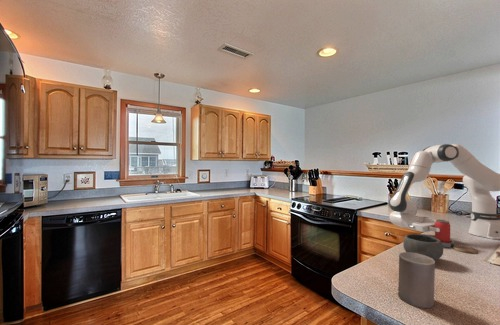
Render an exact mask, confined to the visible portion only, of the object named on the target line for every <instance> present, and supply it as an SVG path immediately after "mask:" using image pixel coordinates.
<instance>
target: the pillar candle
mask: <svg viewBox="0 0 500 325" xmlns="http://www.w3.org/2000/svg"><path fill="white" fill-rule="evenodd" d="M435 269H436V260H435V261H434V260H433V259H432V258H430V257H428V256H425V255H422V254H418V253H412V252H406V251H403V252H400V253H399V255H398V286H397V287H398V289H397V290H398V292H397V294H398V298H399V299H400V300H401V301H403V302H404V303H406V304H408V305H410V306H413V307H415V308H421V309H431V308H433V306H434V305H435V280H436V279H435V277H436V276H435V274H436V273H435V272H436V270H435Z"/></svg>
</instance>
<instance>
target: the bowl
mask: <svg viewBox="0 0 500 325" xmlns="http://www.w3.org/2000/svg"><path fill="white" fill-rule="evenodd" d="M433 237H434V236H431V235H430V236H429V235H426V234H420V233H419V234H416V233H415V234H414V233H411V234H406V235H405V236H404V237H403V244H402V246H403V249H404V252H412V253H418V254H422V255H425V256H428V257H430V258H432V259H433V260H434V261H435V262H436V261H438V260H440V258H442V256H443V255H444V247H443V245H442V243H441V241H440V240H439V239H436V238H433Z"/></svg>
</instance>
